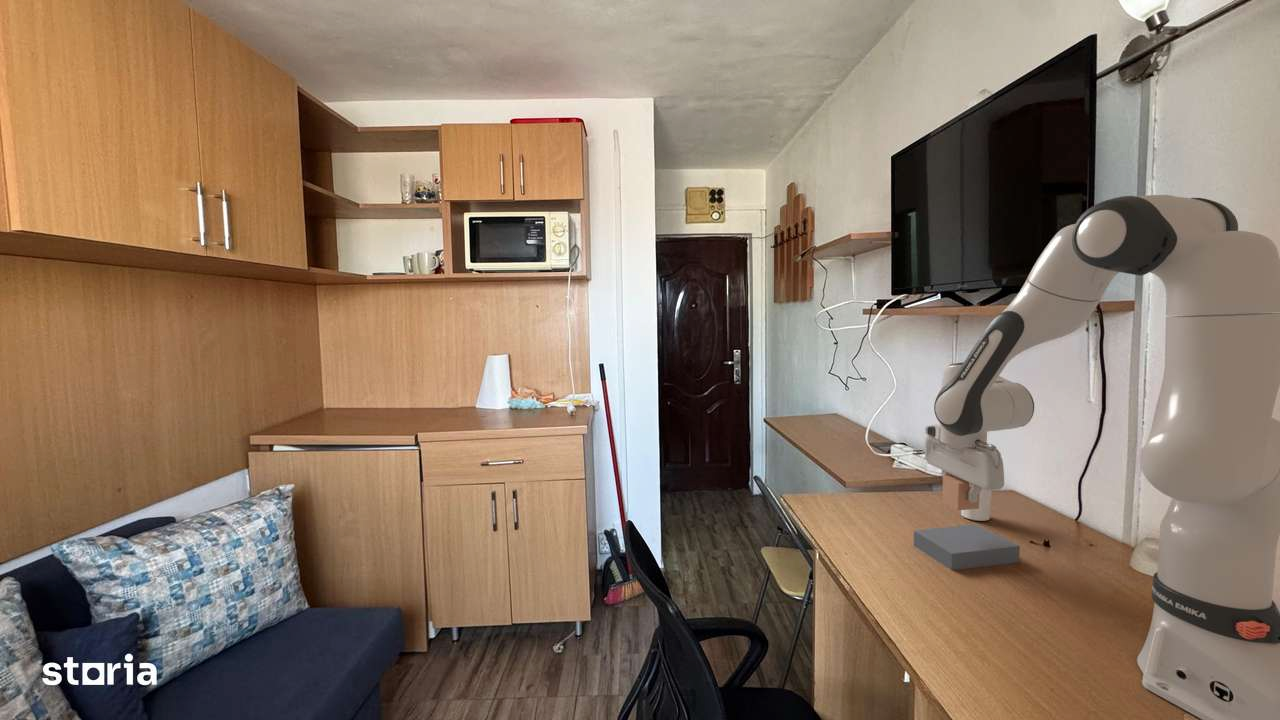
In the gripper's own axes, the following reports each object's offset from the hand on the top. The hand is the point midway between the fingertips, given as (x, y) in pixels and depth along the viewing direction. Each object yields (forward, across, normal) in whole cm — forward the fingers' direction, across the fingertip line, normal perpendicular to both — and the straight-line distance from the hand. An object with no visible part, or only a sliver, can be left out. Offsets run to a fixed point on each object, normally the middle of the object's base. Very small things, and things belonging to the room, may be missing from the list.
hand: (960, 496), depth 118 cm
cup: (+13, +16, -17) cm, 27 cm away
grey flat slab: (+13, -1, 0) cm, 13 cm away
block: (+2, 0, 0) cm, 2 cm away
